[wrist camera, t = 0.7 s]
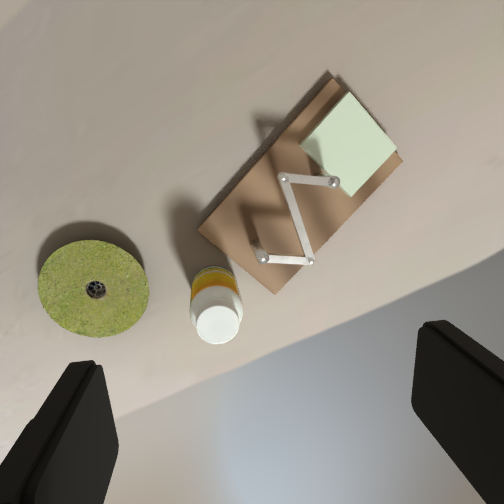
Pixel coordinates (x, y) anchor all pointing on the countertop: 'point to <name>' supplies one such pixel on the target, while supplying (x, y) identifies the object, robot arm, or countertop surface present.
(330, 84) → the wire board
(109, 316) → the yellow-green flat disc
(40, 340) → the countertop surface
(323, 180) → the bent wire
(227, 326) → the supplement bottle
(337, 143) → the pad
